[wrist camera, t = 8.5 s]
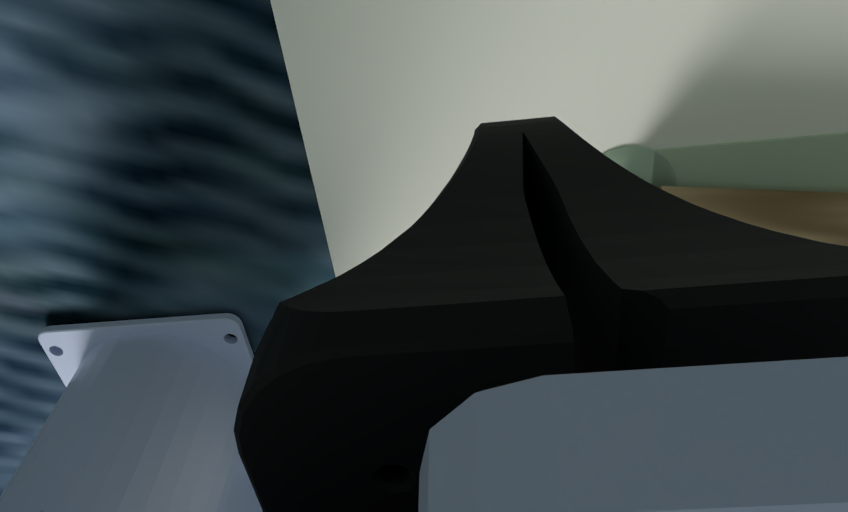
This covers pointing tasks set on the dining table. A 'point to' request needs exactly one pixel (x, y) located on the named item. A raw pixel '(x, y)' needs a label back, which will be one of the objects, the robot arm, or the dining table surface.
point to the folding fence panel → (777, 210)
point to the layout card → (560, 94)
